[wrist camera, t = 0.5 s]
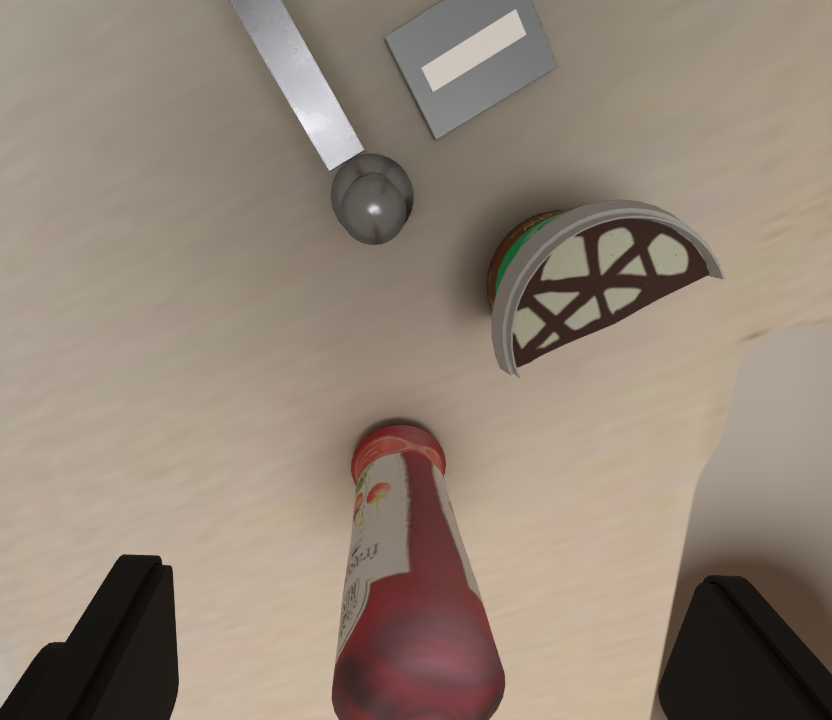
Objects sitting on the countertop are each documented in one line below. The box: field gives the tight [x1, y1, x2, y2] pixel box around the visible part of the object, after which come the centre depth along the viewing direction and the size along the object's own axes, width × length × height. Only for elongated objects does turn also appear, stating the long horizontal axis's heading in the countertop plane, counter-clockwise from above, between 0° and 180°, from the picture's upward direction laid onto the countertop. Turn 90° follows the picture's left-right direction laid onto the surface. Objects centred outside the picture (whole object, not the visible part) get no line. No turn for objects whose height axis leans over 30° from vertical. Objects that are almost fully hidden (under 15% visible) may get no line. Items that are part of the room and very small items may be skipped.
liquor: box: [332, 425, 505, 720], centre depth 27 cm, size 7×7×28 cm
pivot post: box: [331, 154, 413, 245], centre depth 29 cm, size 5×5×10 cm
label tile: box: [385, 0, 557, 140], centre depth 30 cm, size 8×6×1 cm
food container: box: [487, 200, 725, 378], centre depth 31 cm, size 12×6×10 cm, turn 116°
